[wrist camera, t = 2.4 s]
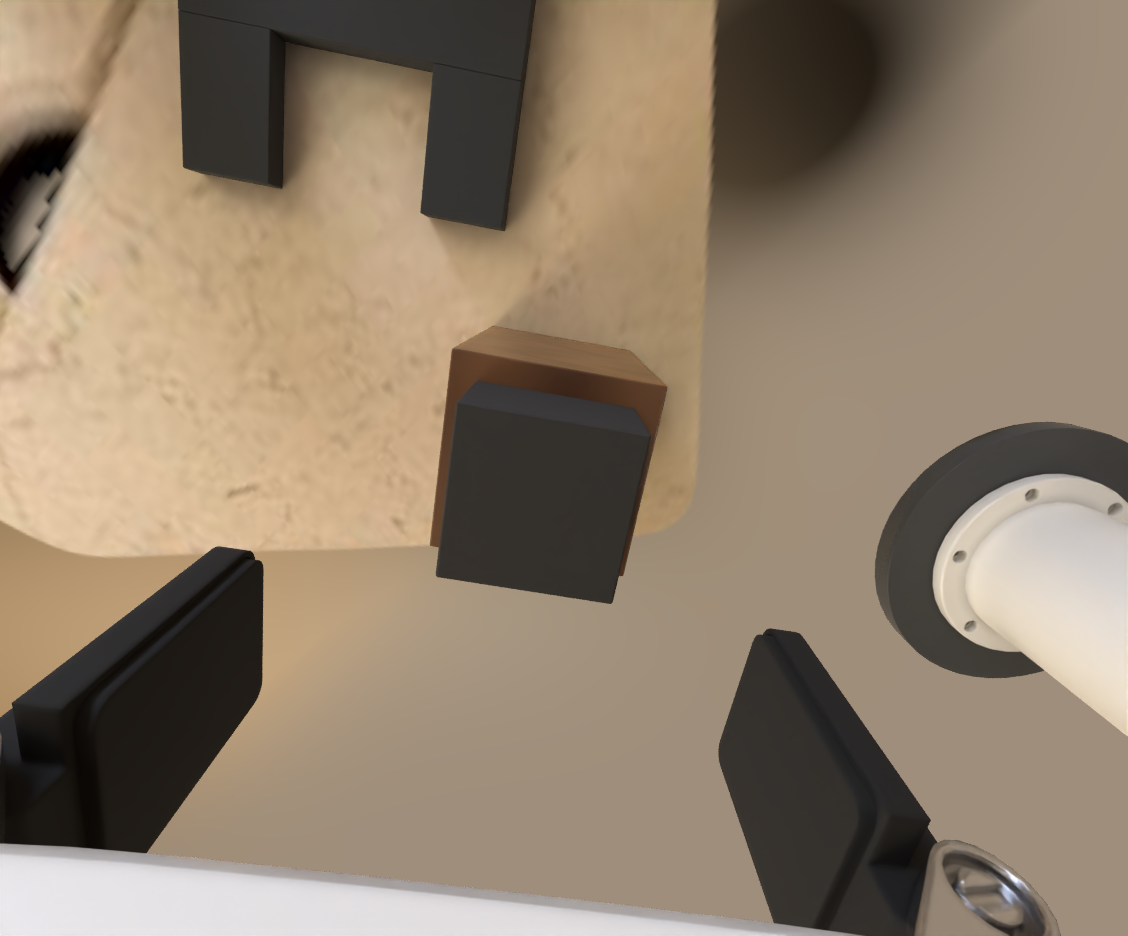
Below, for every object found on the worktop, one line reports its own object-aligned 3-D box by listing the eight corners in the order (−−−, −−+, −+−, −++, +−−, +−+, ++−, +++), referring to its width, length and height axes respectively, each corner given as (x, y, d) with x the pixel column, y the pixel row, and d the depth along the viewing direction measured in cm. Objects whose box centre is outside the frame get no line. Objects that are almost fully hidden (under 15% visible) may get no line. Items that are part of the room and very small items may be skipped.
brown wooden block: (630, 350, 32) (668, 386, 20) (603, 480, 34) (623, 577, 23) (492, 325, 31) (451, 347, 20) (474, 458, 34) (429, 546, 22)
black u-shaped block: (548, -93, 26) (547, -115, 24) (504, 231, 30) (501, 228, 28) (193, -172, 25) (171, -200, 23) (201, 173, 29) (182, 167, 28)
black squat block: (635, 408, 21) (652, 435, 17) (604, 551, 23) (612, 605, 19) (475, 379, 20) (455, 401, 17) (456, 528, 22) (434, 577, 18)
